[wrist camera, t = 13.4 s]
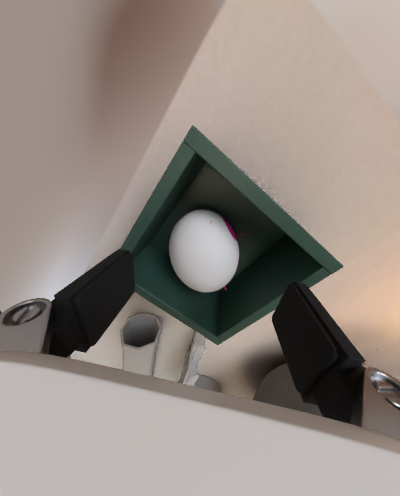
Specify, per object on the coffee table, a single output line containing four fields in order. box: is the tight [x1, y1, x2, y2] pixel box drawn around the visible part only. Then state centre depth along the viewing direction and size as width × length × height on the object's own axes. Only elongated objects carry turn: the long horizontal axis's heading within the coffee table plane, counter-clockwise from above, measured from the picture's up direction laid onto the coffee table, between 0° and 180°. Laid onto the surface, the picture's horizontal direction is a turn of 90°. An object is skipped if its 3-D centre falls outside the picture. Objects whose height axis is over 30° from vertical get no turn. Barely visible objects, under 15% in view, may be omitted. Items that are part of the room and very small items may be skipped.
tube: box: [120, 313, 161, 377], centre depth 27 cm, size 5×5×25 cm
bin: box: [120, 126, 343, 345], centre depth 13 cm, size 12×12×6 cm
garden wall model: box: [180, 331, 205, 386], centre depth 23 cm, size 12×2×6 cm, turn 166°
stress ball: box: [169, 209, 248, 292], centre depth 14 cm, size 8×8×7 cm
